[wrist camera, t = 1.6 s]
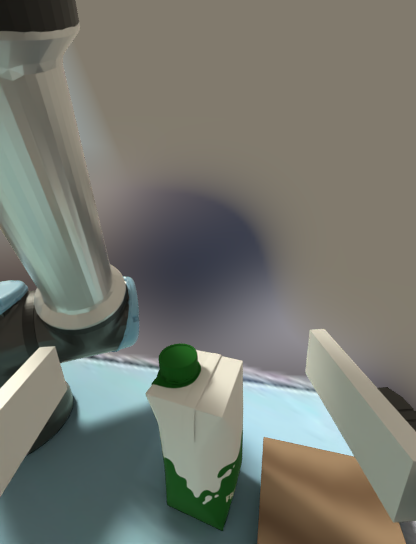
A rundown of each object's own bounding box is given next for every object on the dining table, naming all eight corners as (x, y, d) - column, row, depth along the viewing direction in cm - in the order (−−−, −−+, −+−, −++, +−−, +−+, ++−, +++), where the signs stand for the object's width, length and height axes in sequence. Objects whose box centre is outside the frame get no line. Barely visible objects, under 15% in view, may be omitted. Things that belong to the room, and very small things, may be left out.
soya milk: (187, 442, 38) (177, 328, 31) (247, 464, 35) (251, 342, 28) (156, 511, 30) (132, 379, 23) (229, 547, 27) (228, 407, 20)
